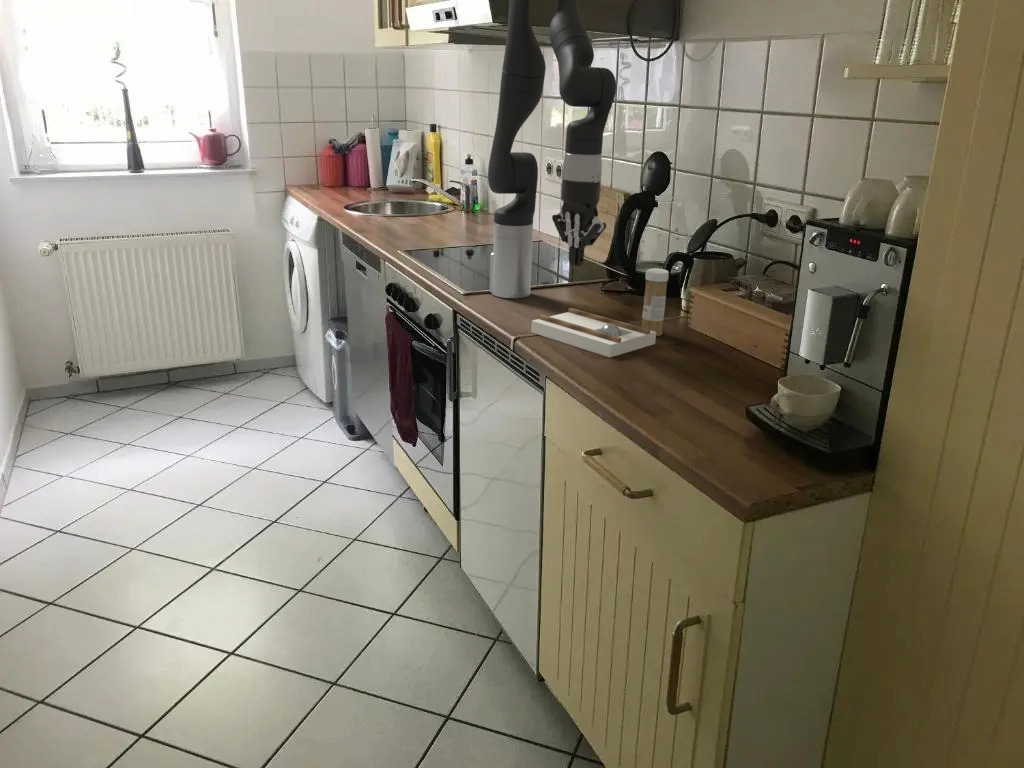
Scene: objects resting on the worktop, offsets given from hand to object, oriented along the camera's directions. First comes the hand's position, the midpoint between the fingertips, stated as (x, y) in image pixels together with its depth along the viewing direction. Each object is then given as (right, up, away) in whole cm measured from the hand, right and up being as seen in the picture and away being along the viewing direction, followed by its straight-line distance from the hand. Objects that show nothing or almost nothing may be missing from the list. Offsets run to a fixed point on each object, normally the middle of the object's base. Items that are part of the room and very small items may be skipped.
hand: (575, 265), depth 163 cm
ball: (+7, -14, -3) cm, 16 cm away
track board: (+3, -15, +1) cm, 15 cm away
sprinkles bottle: (+16, -14, +5) cm, 22 cm away
